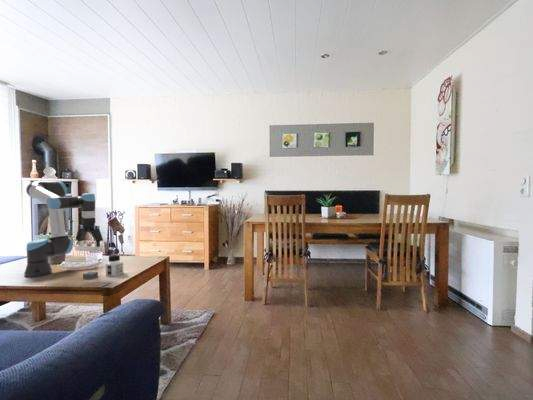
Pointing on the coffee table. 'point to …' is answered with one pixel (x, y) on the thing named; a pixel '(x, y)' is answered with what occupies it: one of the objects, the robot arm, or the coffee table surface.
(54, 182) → the robot arm
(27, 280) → the coffee table surface
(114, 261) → the container
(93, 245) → the lid
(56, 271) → the coffee table surface
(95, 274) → the stand
